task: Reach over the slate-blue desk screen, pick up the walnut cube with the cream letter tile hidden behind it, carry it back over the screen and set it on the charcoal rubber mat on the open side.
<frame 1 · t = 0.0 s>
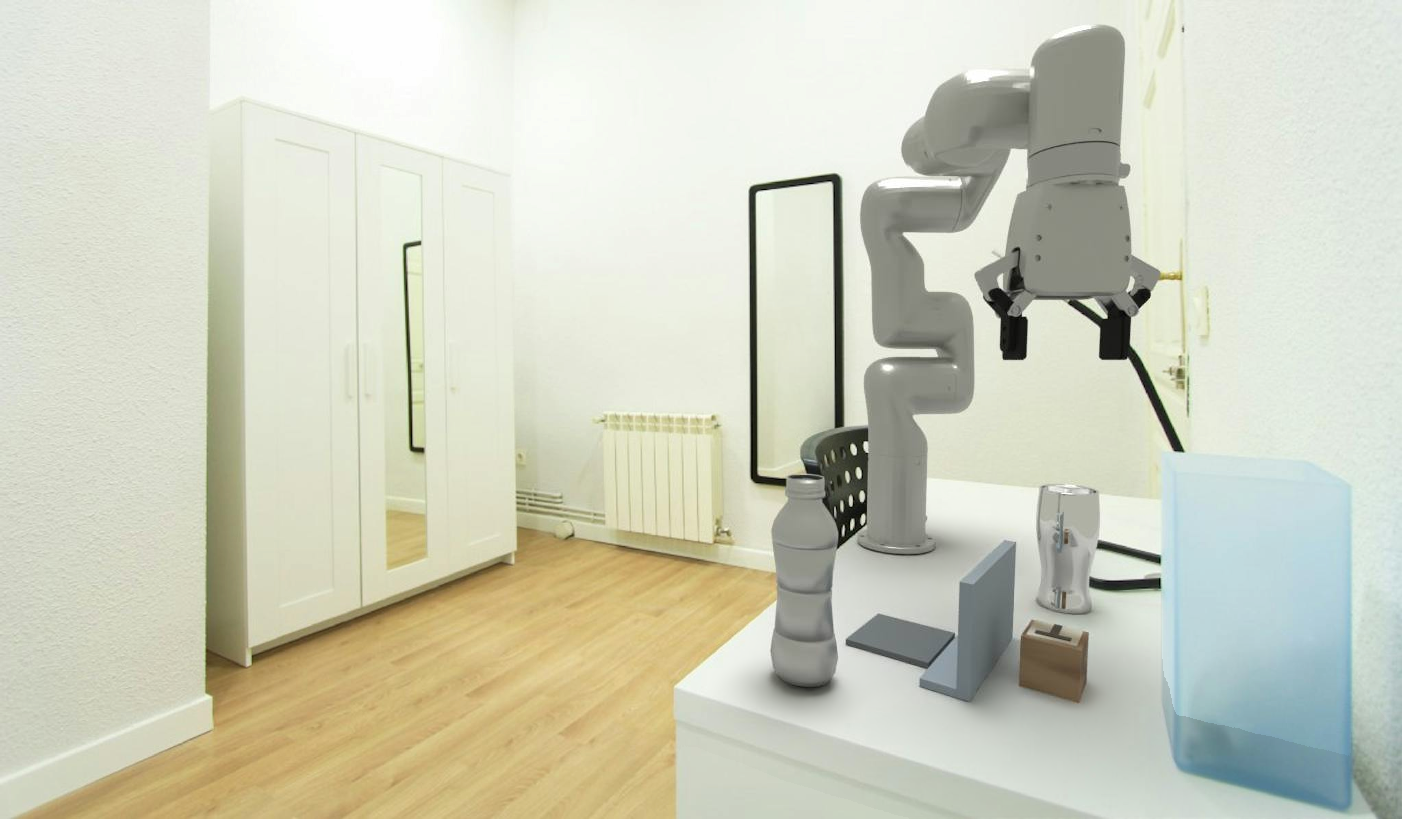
hand: (1063, 359, 61), 31 cm above the table, tool pointing down, fingers open, 9 cm apart
screen: (987, 664, 65), on the table
mat: (900, 640, 71), on the table
plastic bottle: (803, 680, 63), on the table
beer glass: (1063, 606, 81), on the table
letter cube: (1052, 684, 62), on the table
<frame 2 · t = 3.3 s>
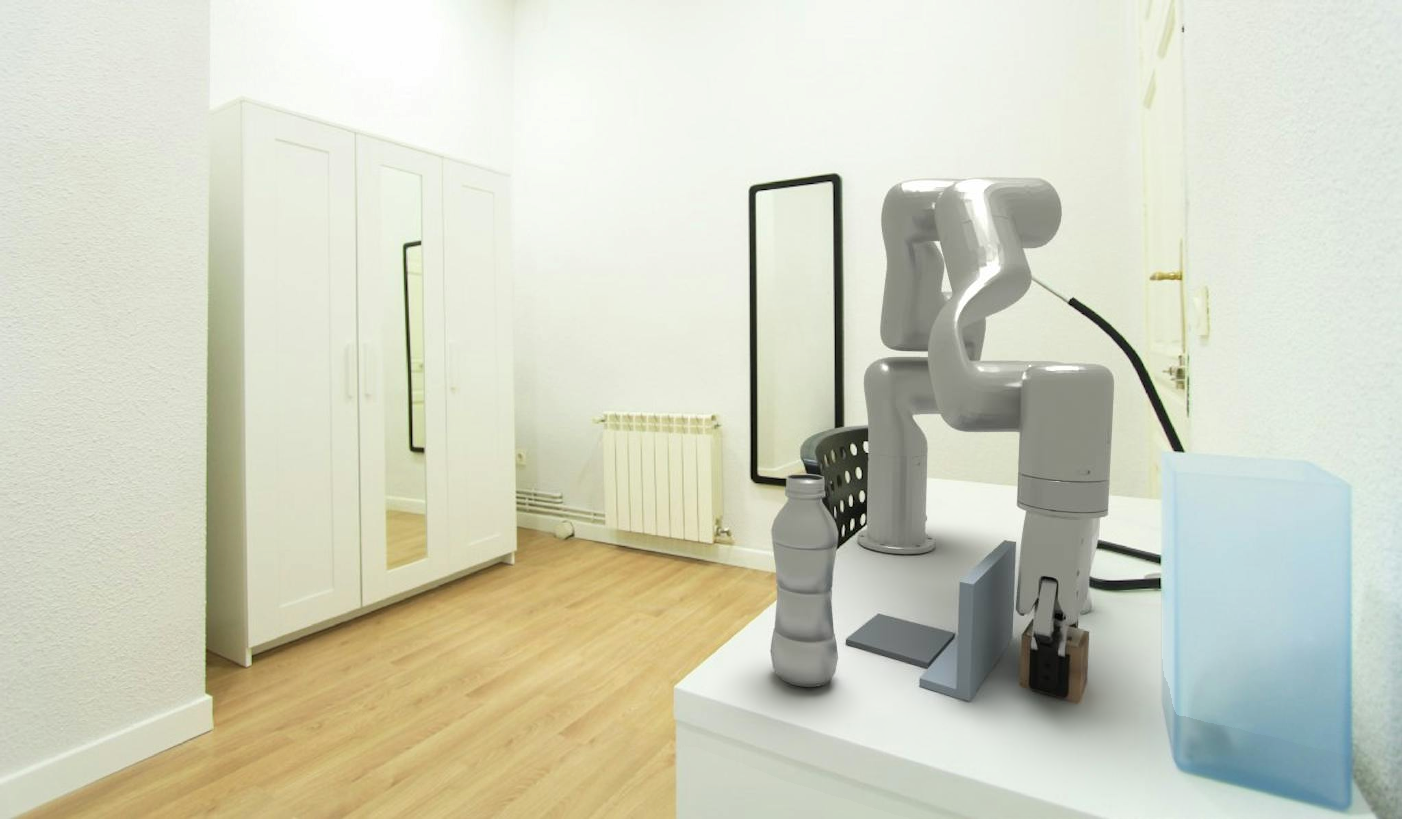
hand: (1053, 678, 61), 1 cm above the table, tool pointing down, fingers closed on letter cube, 5 cm apart
letter cube: (1053, 683, 61), on the table, touching gripper
everything else where it was.
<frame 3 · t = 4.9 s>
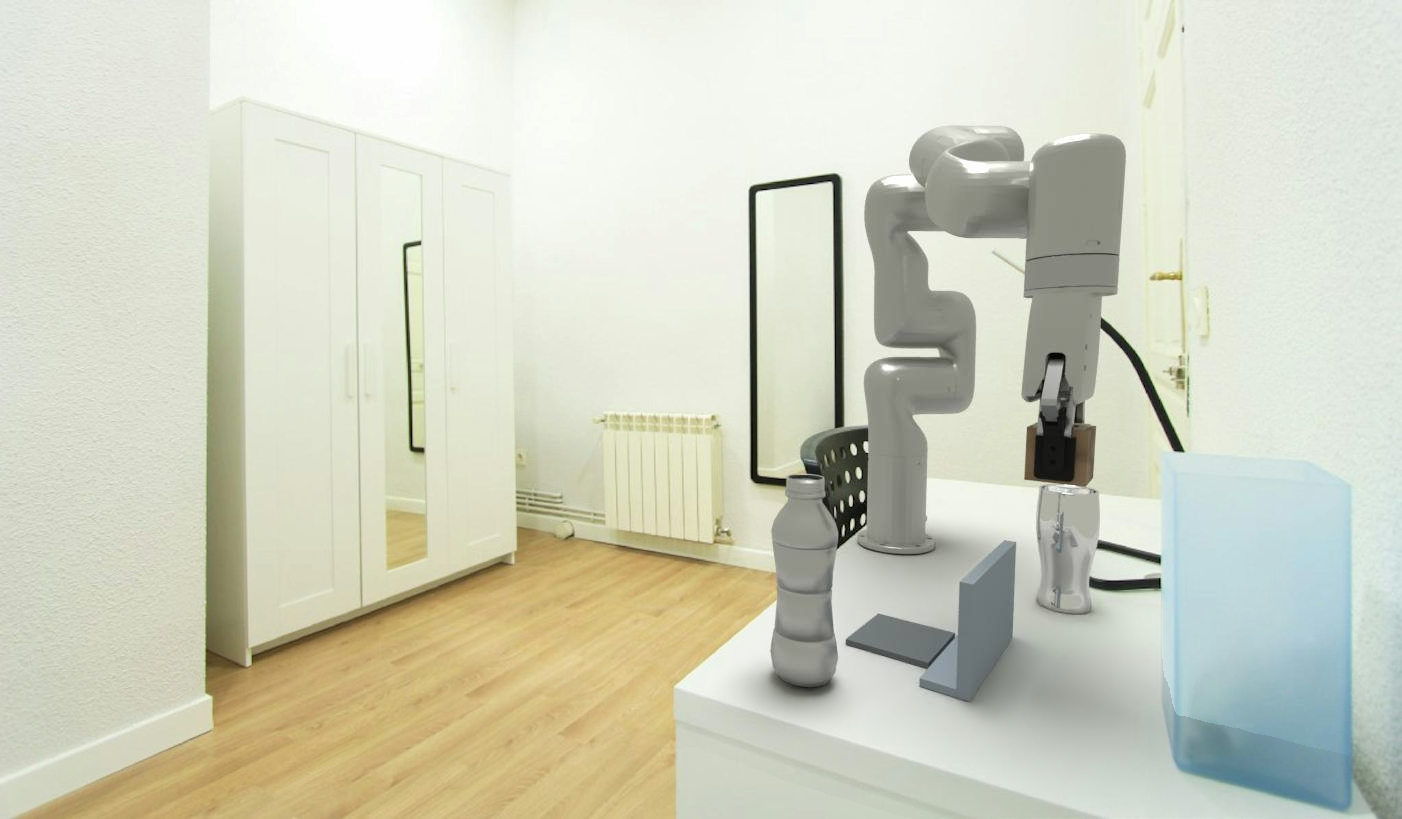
hand: (1059, 472, 60), 20 cm above the table, tool pointing down, fingers closed on letter cube, 5 cm apart
letter cube: (1058, 478, 60), point 20 cm above the table, touching gripper
everything else where it was.
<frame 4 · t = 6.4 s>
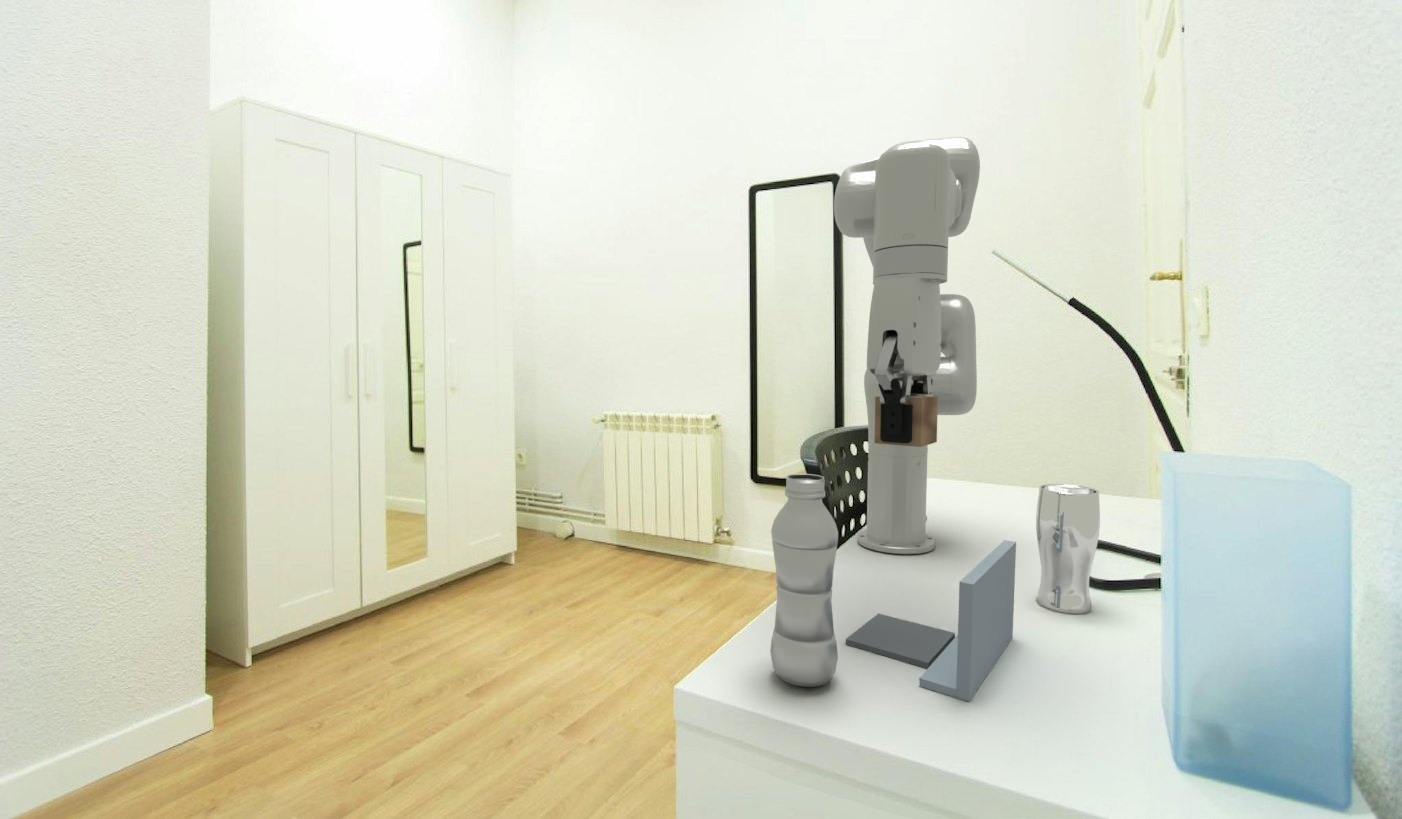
hand: (905, 437, 69), 23 cm above the table, tool pointing down, fingers closed on letter cube, 5 cm apart
letter cube: (905, 442, 69), point 22 cm above the table, touching gripper
everything else where it was.
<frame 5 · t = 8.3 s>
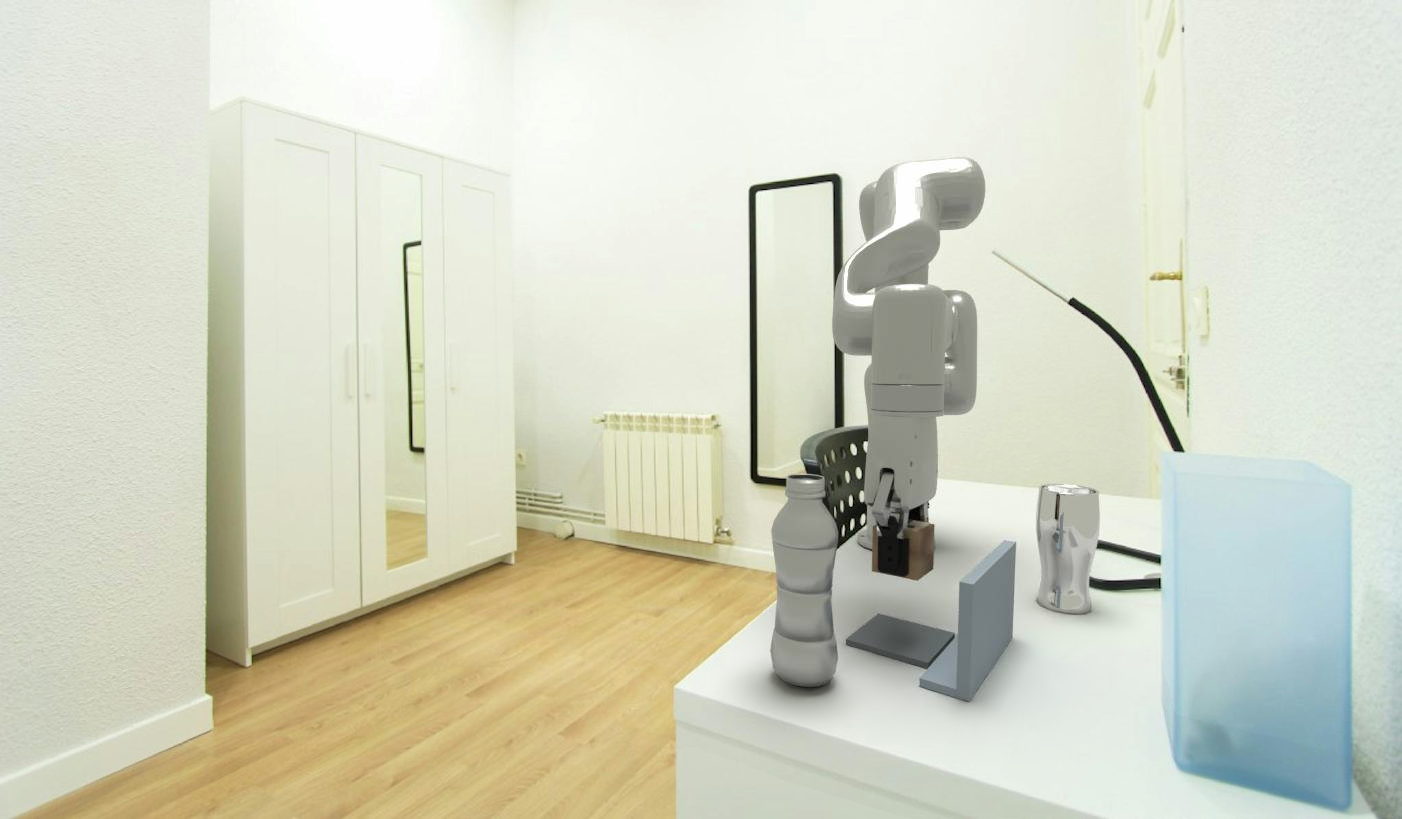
hand: (902, 565, 70), 9 cm above the table, tool pointing down, fingers closed on letter cube, 5 cm apart
letter cube: (902, 570, 70), point 8 cm above the table, touching gripper
everything else where it was.
when the fingers open (3 cm above the table, at t = 9.8 s): letter cube drops 1 cm, resting on mat.
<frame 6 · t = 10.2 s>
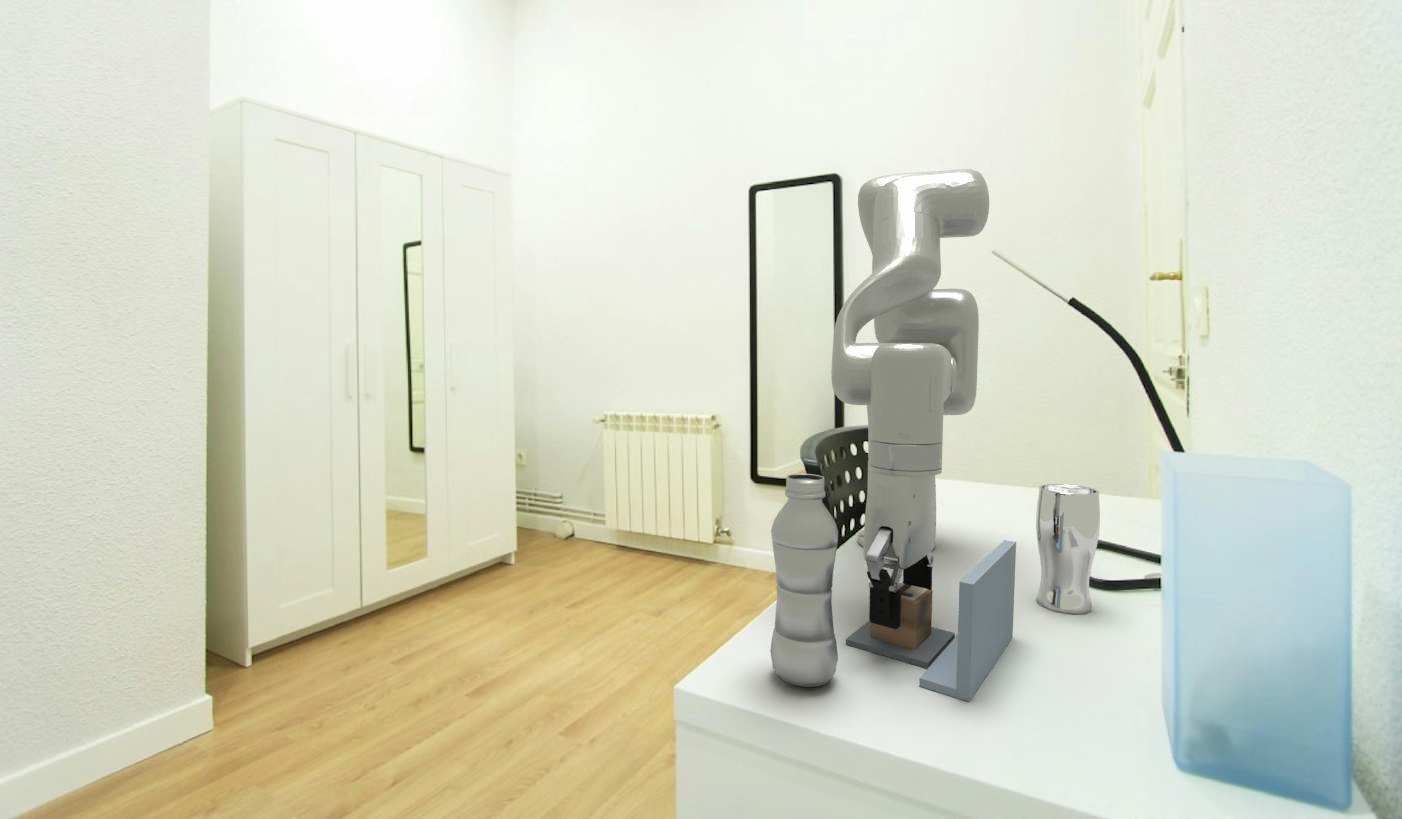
hand: (901, 610, 70), 3 cm above the table, tool pointing down, fingers open, 9 cm apart
letter cube: (901, 635, 71), point 1 cm above the table, touching mat
everything else where it was.
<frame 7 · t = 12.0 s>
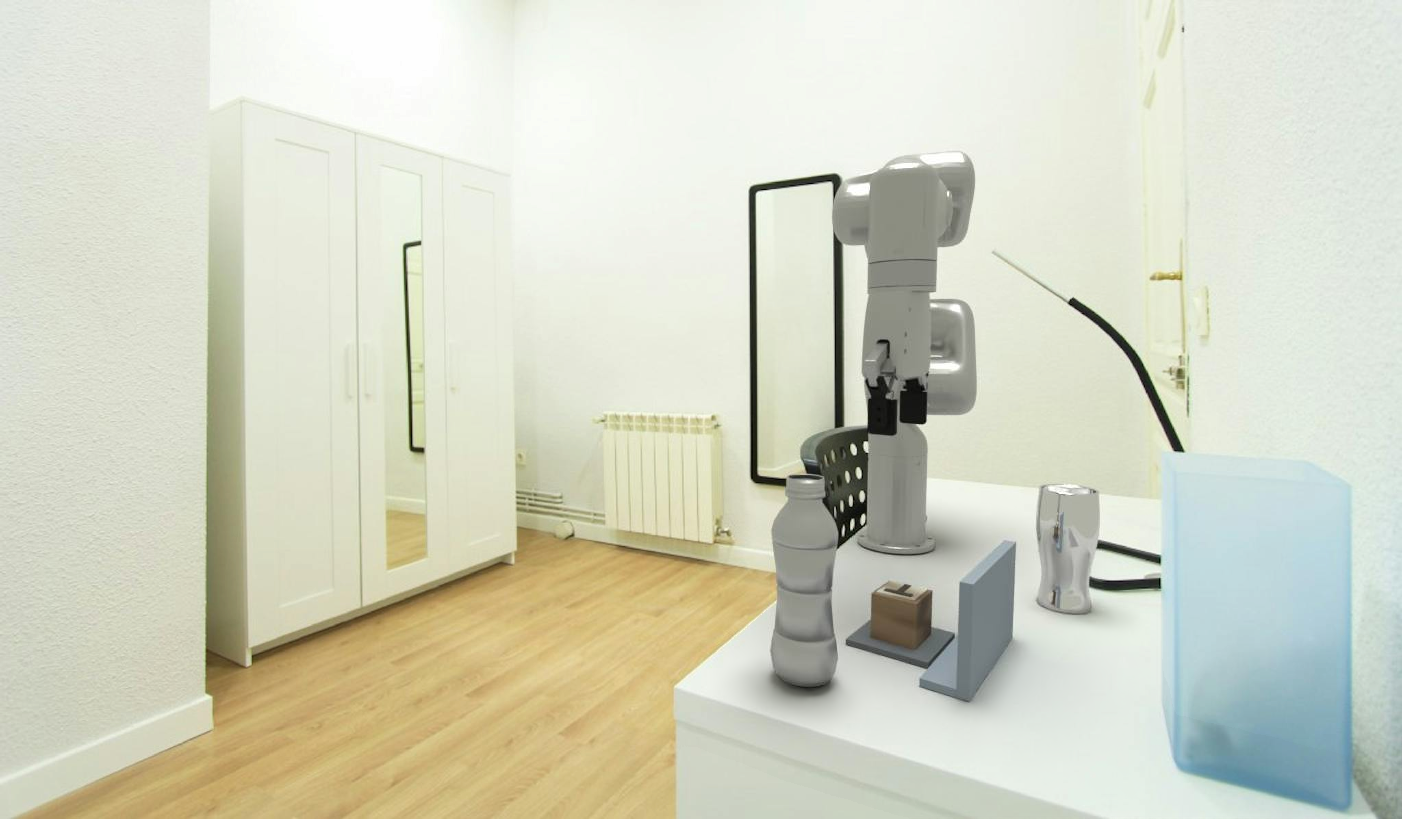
hand: (898, 428, 74), 23 cm above the table, tool pointing down, fingers open, 9 cm apart
nothing on the table moved.
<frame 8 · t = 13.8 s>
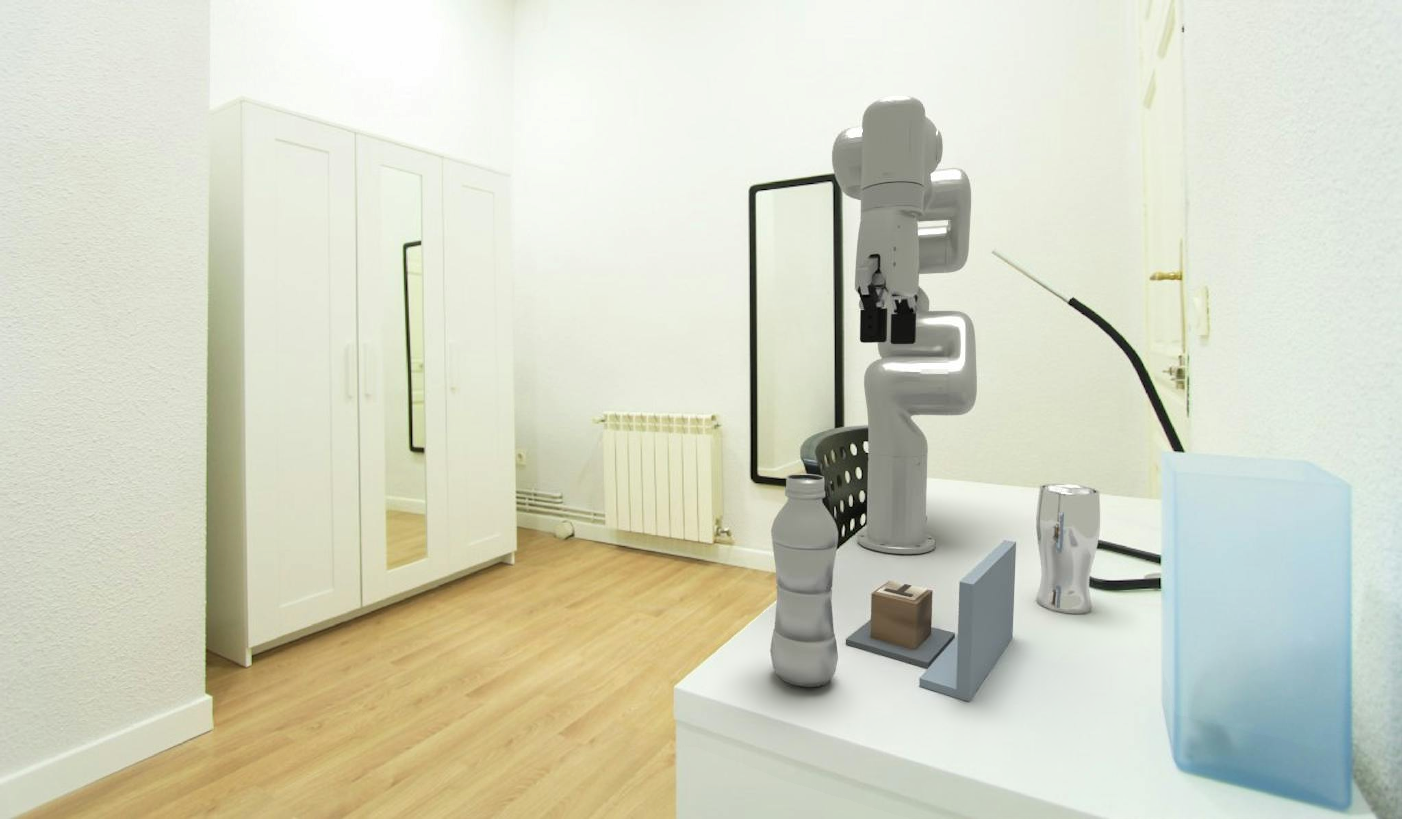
hand: (888, 343, 81), 33 cm above the table, tool pointing down, fingers open, 9 cm apart
nothing on the table moved.
at the end: letter cube inside the target area on the mat (0.1 cm from its centre), point 0.6 cm above the mat's base; letter cube tilted 0°; the gripper is holding nothing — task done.
